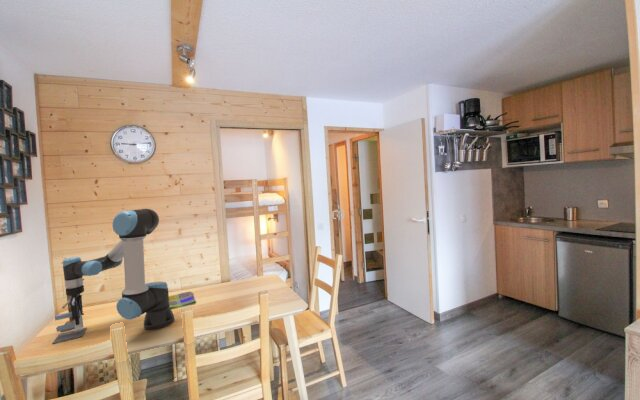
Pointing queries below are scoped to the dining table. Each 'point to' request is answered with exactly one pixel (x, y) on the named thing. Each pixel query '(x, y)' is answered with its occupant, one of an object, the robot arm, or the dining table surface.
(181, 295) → the green and purple book
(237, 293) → the dining table surface
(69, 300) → the stand
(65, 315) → the c link
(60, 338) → the mat
